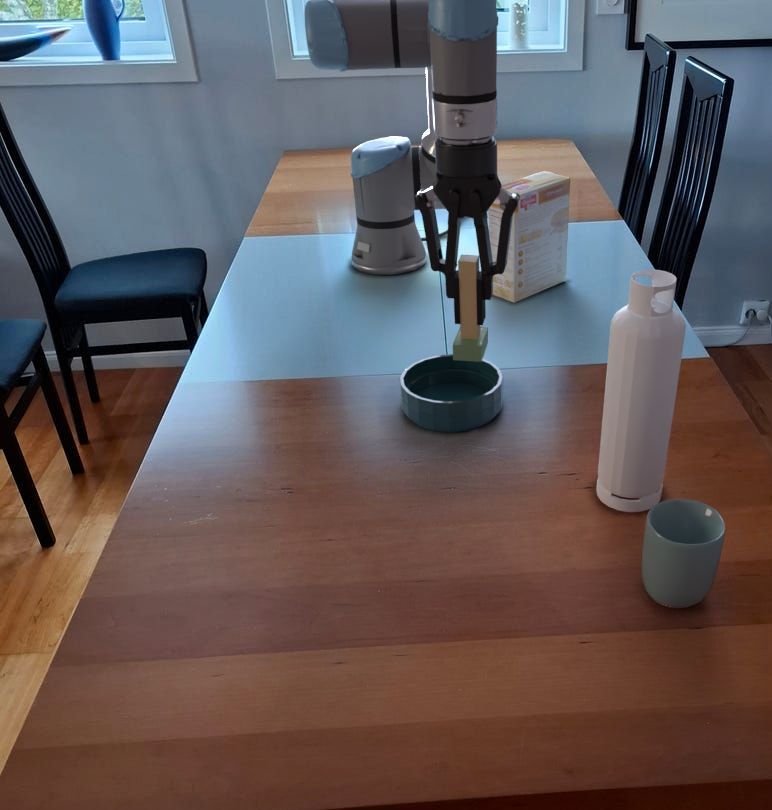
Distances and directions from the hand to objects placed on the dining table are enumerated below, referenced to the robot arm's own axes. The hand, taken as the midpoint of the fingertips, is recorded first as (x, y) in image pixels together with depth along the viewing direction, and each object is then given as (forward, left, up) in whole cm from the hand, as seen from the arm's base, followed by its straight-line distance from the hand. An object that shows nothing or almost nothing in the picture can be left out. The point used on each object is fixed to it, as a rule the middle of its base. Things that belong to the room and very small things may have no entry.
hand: (470, 320), depth 111 cm
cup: (+36, +28, -14) cm, 48 cm away
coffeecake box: (-47, +3, -14) cm, 49 cm away
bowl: (0, -3, -14) cm, 14 cm away
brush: (0, 0, -5) cm, 5 cm away
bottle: (+18, +23, -14) cm, 33 cm away
